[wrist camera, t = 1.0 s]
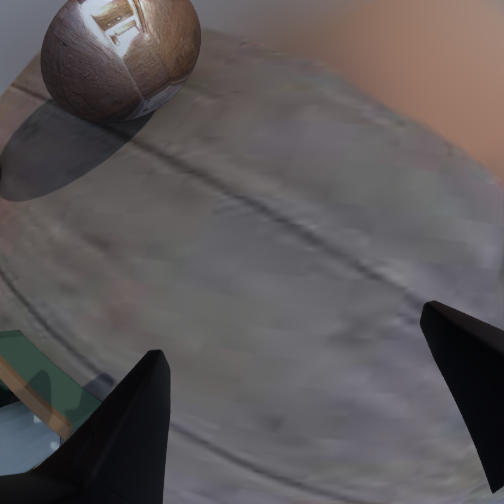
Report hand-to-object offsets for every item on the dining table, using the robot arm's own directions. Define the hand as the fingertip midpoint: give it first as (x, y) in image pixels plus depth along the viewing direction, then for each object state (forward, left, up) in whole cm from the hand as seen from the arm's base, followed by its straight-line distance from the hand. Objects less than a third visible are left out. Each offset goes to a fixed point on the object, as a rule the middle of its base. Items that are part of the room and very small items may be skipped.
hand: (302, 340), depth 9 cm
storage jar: (-1, +29, -15) cm, 33 cm away
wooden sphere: (+26, +2, -15) cm, 30 cm away
